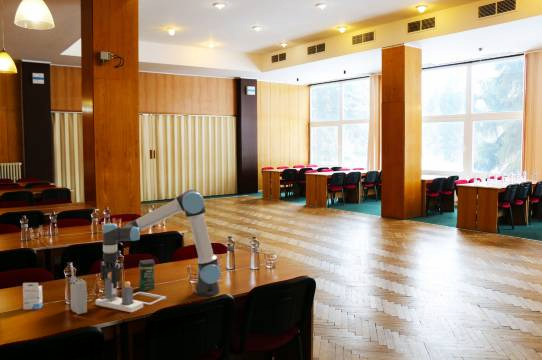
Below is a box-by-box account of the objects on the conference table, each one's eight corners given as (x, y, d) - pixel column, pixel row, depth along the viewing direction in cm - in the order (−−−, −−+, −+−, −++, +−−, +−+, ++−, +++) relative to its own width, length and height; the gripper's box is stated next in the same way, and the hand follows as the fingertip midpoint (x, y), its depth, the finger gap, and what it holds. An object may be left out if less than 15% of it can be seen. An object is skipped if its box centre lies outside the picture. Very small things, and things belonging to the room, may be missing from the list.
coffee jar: (140, 292, 282) (140, 262, 281) (137, 288, 289) (137, 259, 288) (156, 290, 287) (156, 260, 285) (153, 286, 294) (153, 257, 292)
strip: (143, 308, 254) (143, 301, 254) (131, 314, 246) (131, 306, 246) (107, 301, 266) (107, 294, 265) (95, 306, 257) (95, 298, 257)
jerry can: (68, 307, 255) (67, 263, 253) (78, 305, 258) (77, 261, 256) (77, 316, 243) (76, 269, 241) (87, 314, 246) (86, 267, 244)
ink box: (43, 306, 257) (42, 280, 256) (39, 309, 252) (38, 282, 251) (27, 306, 256) (26, 280, 255) (23, 309, 251) (22, 283, 250)
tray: (166, 299, 270) (166, 296, 270) (150, 306, 258) (150, 303, 258) (139, 293, 279) (139, 291, 279) (122, 300, 267) (122, 298, 266)
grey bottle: (116, 297, 259) (115, 272, 258) (110, 299, 255) (110, 274, 254) (110, 296, 261) (110, 271, 260) (105, 298, 257) (105, 273, 256)
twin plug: (132, 307, 254) (132, 281, 253) (127, 309, 251) (127, 283, 249) (127, 305, 256) (127, 280, 255) (122, 308, 252) (121, 282, 251)
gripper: (126, 252, 256) (127, 293, 258) (103, 248, 263) (104, 289, 265) (116, 254, 249) (117, 297, 251) (93, 251, 256) (94, 292, 258)
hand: (110, 293), depth 258 cm, fingers closed on grey bottle, 4 cm apart
